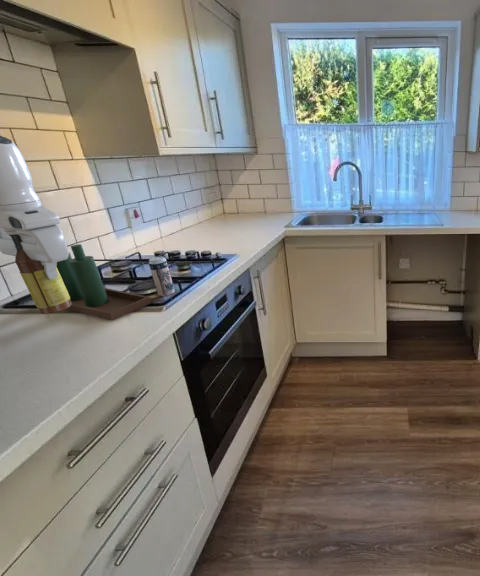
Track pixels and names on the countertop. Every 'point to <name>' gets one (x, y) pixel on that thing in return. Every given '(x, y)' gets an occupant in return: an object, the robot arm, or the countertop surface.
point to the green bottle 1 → (69, 279)
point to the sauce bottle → (41, 282)
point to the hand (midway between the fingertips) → (42, 276)
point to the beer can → (161, 276)
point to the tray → (112, 305)
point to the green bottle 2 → (87, 278)
